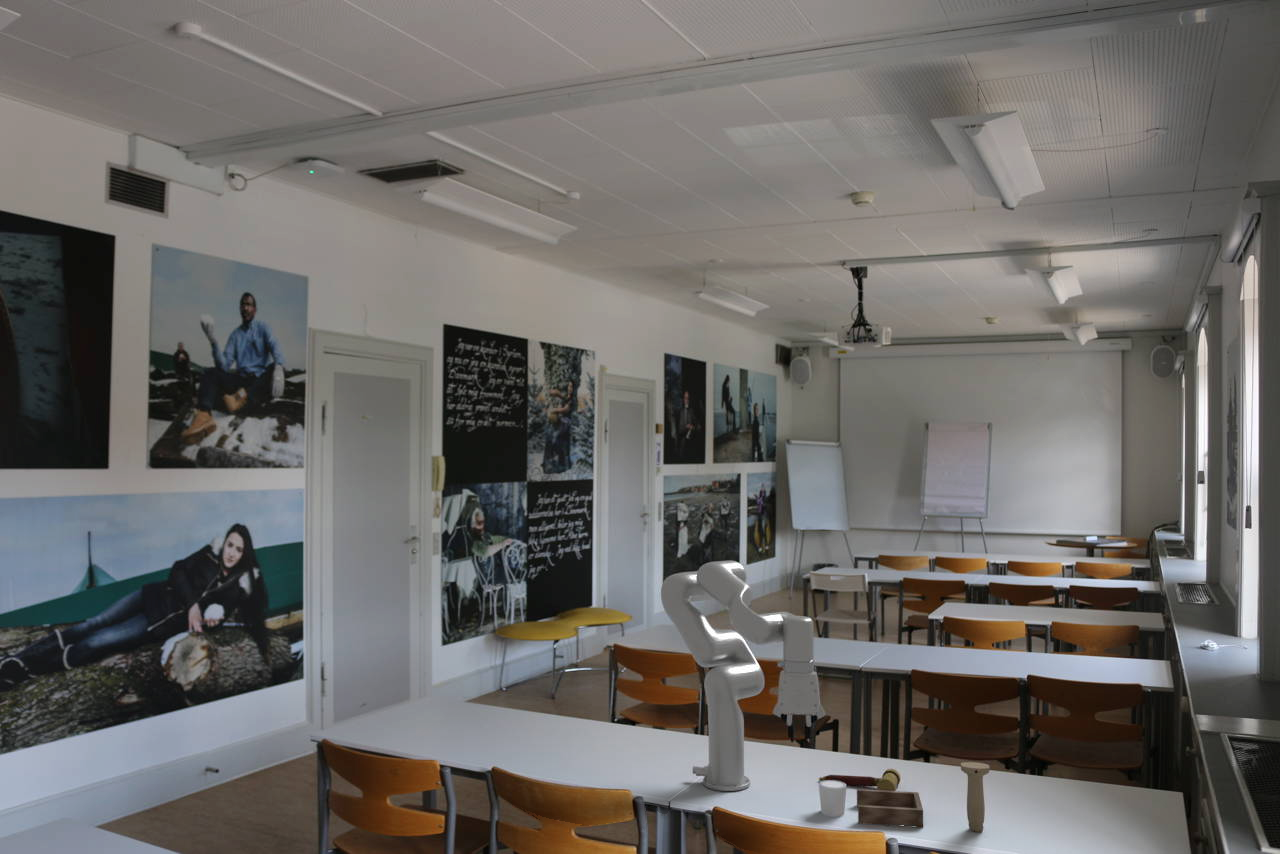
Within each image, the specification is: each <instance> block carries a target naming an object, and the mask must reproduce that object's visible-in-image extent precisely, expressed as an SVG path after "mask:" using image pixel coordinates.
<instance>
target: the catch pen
mask: <svg viewBox="0 0 1280 854" xmlns="http://www.w3.org/2000/svg"><path fill="white" fill-rule="evenodd" d="M921 801H922V800H921V797H920V794H919V792H917V791H904V790H902V791H901V790H895V791H885V790H877V789H866V788H865V789H863V788H856V807H857V823H858V824H861V825H878V826H890V825H904V826H903V827H906V826H917V827H916V828H922V827H923V828H924V809H923V806H922V805H923V804H922V802H921Z"/></svg>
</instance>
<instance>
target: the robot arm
mask: <svg viewBox="0 0 1280 854" xmlns="http://www.w3.org/2000/svg"><path fill="white" fill-rule="evenodd" d="M746 582H747V573H746V569H745V568H744V566H743V565H742V564H741V563H740V562H738V561H736V560H730V559H729V560H719V561H718V560H717V561H710V562H706V563H704V564H702V565H701V566H700V567H699V568H698V570H695V571H694V570H693V571H684V572H677V573H674V574H671V575H669V576H668V577H666V578H665V579H664V580H663V582H662V584H661V588H660V598H661V604H662V608H663V609H664V612H665V613H666V615H667V616H668V618H669V619H670V621H671V622H672V624H674V626H675V628H676V629H677V630H678V633H679V634H680V636H681V638H682V639H683V642H684V643H685V644H686V647H687V649H688V650H689V652H690V654H691V656H692V657H693V659H694V661H695V662H696V663H697V665H698V666H700V667H702V668H711V669H710V670H709V671H707V673H706V675H705V678H704V682H703V683H704V685H703V687H704V691H705V696H706V697H705V698H706V702H707V703H706V705H707V713H708V714H707V715H708V716H707V717H708V718H707V719H708V721H707V722H708V724H707V725H708V764H707V765H704V766H694V765H693V766H692V774H693V775H695V776H696V777H703V779H702V784H703V785H704V786H705V787H706V788H708V789H711V790H713V791H714V790H715V791H719V792H720V791H721V792H735V791H741V790H745V789H747V788H749V787H750V785H751V779H750V778H749V777H747V776H746V775H745V725H744V724H745V721H744V714H743V711H742V709H741V707H740V706H739V705H740V704H739V703H738V700H742V699H746V698H750V697H754V696H757V695H759V694H760V693H762V691H763V690H764V688H765V681H766V680H765V675H764V671H763V670H762V667H761V666H760V664H759V662H758V661H757V659H756V657H755V655H754V654H753V652H752V651H751V649H750V647H749V646H748V644H747V642H746V641H745V639H746V640H748V641H749V642H751V643H752V644H755V645H757V646H758V645H761V646H762V645H768V644H773V643H783V644H782V647H783V650H782V652H783V653H782V655H783V657H782V660H780V661H779V660H778V661H777V667H778V668H781V669H783V670H781V671H780V673H779V679H778V692H777V702H776V704H775V706H774V708H773V711H772V714H773V715H774V716H777V717H778V718H780V719H781V720H783V722H784V723H785V724H786V725H787V738H788V739H790V743H794V741H795V724H794V721H793V715H803V716H805V724H804V727H803V729H804V734H803V735H804V743H806V744H808V742H809V741H808V740H810V739H811V726H812V725H813V724H814V723H815V722H816V721H817V720H819V719H822V718H823V717H825V716H826V711H825V709H824V707H823V706H822V703H821V701H820V686H819V677H818V672H816V671H815V659H814V658H815V656H814V655H815V653H814V651H815V650H814V645H815V644H814V642H815V641H814V636H815V635H814V621H813V619H812V618H811V617H809V616H803V615H796V614H793V613H790V612H787V611H775V612H767V613H761V614H757V613H756V612H755V611H753V610H752V609H750V608H749V606H750V604H751V602H752V598H753V589H752V588H751V585H749V584H747V583H746ZM713 599H714V600H715V601H716V602H718V603H719V604H720V605H721V606H723V607H724V608H725V609H727V611H728V617H729V620H730V623H731V625H732V627H733V628H734V629H735V630H733V629H730V628H729V629H728V628H727V629H718V630H717V629H715V628H713V626H712V625H711V624H710V622H709V620H708V619H707V617H706V616H705V615H704V613H703V612H702V611H701V610H700V609H698V608H697V607H696V606H694V605H692V603H693V602H694V603H696V602H702V601H710V600H713ZM744 638H745V639H744Z"/></svg>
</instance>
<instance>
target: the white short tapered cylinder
mask: <svg viewBox="0 0 1280 854" xmlns="http://www.w3.org/2000/svg"><path fill="white" fill-rule="evenodd" d="M847 786H848V785H846V784H845V783H844V782H841V781H836V780H825V781H819V782H818V791H819V802H820V812H821V814H822V815H823V816H827V817H842V816H843V815H845V810H846V798H847V797H846V796H847Z"/></svg>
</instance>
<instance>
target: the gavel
mask: <svg viewBox="0 0 1280 854" xmlns="http://www.w3.org/2000/svg"><path fill="white" fill-rule="evenodd" d="M818 780H819V782H821V781H825V780H836V781H841V782H844V783H845V784H846V786H848V785H850V786H851V787H865V788H866V787H870V788H871V787H876V790H885V791H897V790H896V789H897V787H898V785H900V782H901V775H900V773H899V771H897V769H893V768H887V769H886V770H884V772H883V773H882V777H873V776H866V775H865V776H862V775H861V776H860V775H846V774H845V775H843V774H842V775H841V774H829V775H826V776H825V775H824V776H822V777H821V776H820V777H819V778H818ZM896 786H897V787H896Z"/></svg>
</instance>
